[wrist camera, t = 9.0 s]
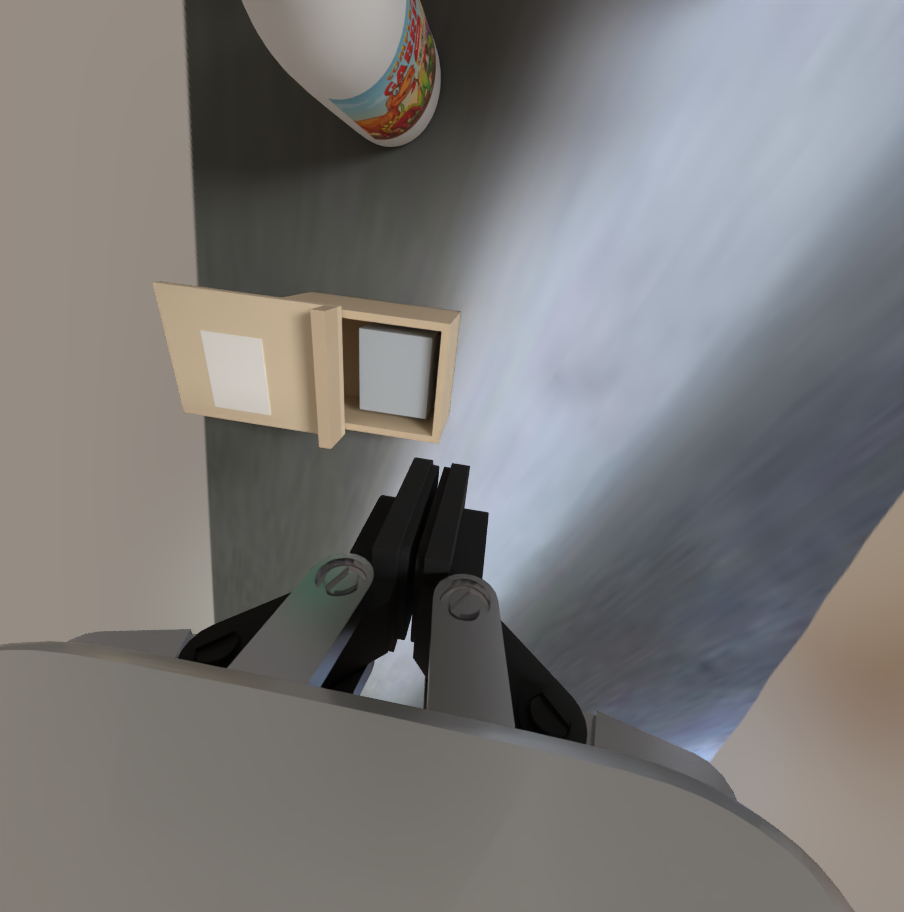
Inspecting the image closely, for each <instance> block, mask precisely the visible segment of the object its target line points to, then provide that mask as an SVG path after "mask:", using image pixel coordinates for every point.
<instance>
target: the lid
mask: <svg viewBox="0 0 904 912" xmlns="http://www.w3.org/2000/svg"><path fill="white" fill-rule="evenodd" d="M153 287H154V291H155V295H156V299H157V304H158V307H159V312H160V316H161V320H162V324H163V328H164V332H165V337H166V340H167V344H168V349H169V353H170V357H171V361H172V365H173V369H174V374H175V378H176V382H177V386H178V390H179V394H180V398H181V402H182V407H183V410H184V413H190V414H196V415H202V416H209V417H215V418H221V419H228V420H234V421H240V422H247V423H253V424H259V425H266V426H272V427H278V428H285V429H291V430H297V431H304V432H310V433H316V434H318V436H319V447H322V448H329V449H331V448H332V447H333V446H334V445H335V444H336V443H337V442H338V441H339V440H340V439H341V438H342V436H343V435H344V434H345V417H344V381H343V346H342V310H341V306H338V305H331V304H324V303H316V302H309V301H301V300H294V299H287V298H279V297H272V296H264V295H257V294H250V293H242V292H235V291H228V290H220V289H213V288H205V287H198V286H191V285H183V284H176V283H168V282H161V281H160V282H153Z"/></svg>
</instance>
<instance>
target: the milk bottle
mask: <svg viewBox="0 0 904 912" xmlns="http://www.w3.org/2000/svg"><path fill="white" fill-rule="evenodd" d="M242 2H243V5H244V7H245V9H246V11H247V13H248V16H249V18H250V20H251V22H252V24H253V26H254V27H255V29H256V31H257V33H258V35H259V36H260V38H261V39H262V41H263V42H264V44H265V45H266V47H267V48H268V50H269V51H270V53H271V54H272V55H273V56H274V58H275V59H276V60H277V61H278V63H279V64H280V65H281V66H282V67H283V69H284V70H285V71H286V72H287V73H288V74H289V75H290V76H291V77H292V78H293V79H294V80H295V81H297V82H298V83H299V84H300V85H301V86H302V87H303V88H304V89H305V90H306V91H307V92H308V93H310V94H311V95H312V96H313V97H314V98H316V99H317V100H318V101H319V102H320V103H322V104H323V105H324V106H325V107H326V108H328V109H329V110H330V111H331V112H333V113H334V114H335V115H336V116H338V117H339V118H340V119H341V120H343V121H344V122H345V123H346V124H348V125H349V126H350V127H351V128H353V129H354V130H355V131H356V132H358V133H359V134H360V135H362V136H363V137H364V138H366V139H367V140H369V141H371V142H373V143H375V144H377V145H380V146H385V147H397V146H401V145H404V144H407V143H409V142H411V141H412V140H414V139H415V138H416V137H418V136H419V135H420V134H421V133H422V132H423V130H424V129H425V128H426V127H427V125H428V124H429V122H430V120H431V119H432V116H433V114H434V112H435V109H436V106H437V103H438V99H439V94H440V86H441V70H440V62H439V56H438V53H437V49H436V45H435V42H434V39H433V36H432V33H431V30H430V27H429V24H428V21H427V19H426V16H425V13H424V10H423V7H422V4H421V2H420V0H242Z"/></svg>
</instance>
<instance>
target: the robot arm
mask: <svg viewBox="0 0 904 912" xmlns="http://www.w3.org/2000/svg"><path fill="white" fill-rule="evenodd" d="M469 470H470V466H467V465H461V464H454V463H452V465H451V468H449V467H444V469H443V472H442V476H441V479H440V482H439V485H438V477H439V466H436V465H433V460H428V459H422V458H414V460H413V462H412V464H411V466H410V468H409V471H408V473H407V475H406V477H405V479H404V481H403V483H402V485H401V488H400V490H399V492H398V494H397V496H396V497H391V496H385V495H382V496H380V498H379V499H378V501H377V503H376V505H375V506H374V508H373V510H372V512H371V514H370V516H369V518H368V519H367V521H366V523H365V525H364V527H363V529H362V531H361V533H360V534H359V536H358V538H357V540H356V542H355V544H354V546H353V547H352V549H351V551H350V553H341V554H335V555H332V556H328V557H327V558H325V559H323V560H321V561H319V562H318V563H317V564H316V565H315V566H314V567H313V568H312V569H311V570H310V571H309V573H308V574H307V575H306V576H305V577H304V578H303V580H302V581H301V582H300V583H299V584H298V585H297V587H296V588H295V589H294V590H293V591H292V592H291V593H289V594H286V595H284V596H281V597H279V598H277V599H274V600H272V601H269V602H267V603H265V604H262V605H260V606H257V607H255V608H253V609H250V610H248V611H245V612H243V613H240V614H238V615H236V616H233V617H231V618H228V619H226V620H224V621H221V622H219V623H216V624H214V625H212V626H210V627H208V628H206V629H204V630H202V631H201V632H199V633H198V634H192V632H191V629H179V630H142V631H104V632H103V631H102V632H94V633H88V634H84V635H81V636H79V637H76V638H74V639H71V640H69V641H68V642H54V641H46V642H25V643H24V642H23V643H10V644H3V645H0V912H855V911H854V910H853V908H852V907H851V905H850V904H849V903H848V901H847V900H846V899H845V897H844V896H843V894H842V893H841V892H840V890H839V889H838V887H837V886H836V885H835V884H834V883H833V881H832V880H831V879H830V878H829V877H828V876H827V874H826V873H825V872H824V871H823V869H822V868H821V867H820V866H819V865H818V864H817V863H816V862H815V861H814V860H813V859H812V858H811V857H810V856H809V855H808V854H807V853H806V852H805V851H804V850H803V849H802V848H801V847H799V846H798V845H797V844H796V843H795V842H793V841H792V840H791V839H790V838H788V837H787V836H786V835H785V834H783V833H782V832H781V831H780V830H778V829H777V828H776V827H774V826H773V825H772V824H770V823H769V822H767V821H766V820H765V819H763V818H762V817H760V816H759V815H757V814H756V813H754V812H753V811H751V810H750V809H748V808H747V807H745V806H744V805H742V804H741V803H739V802H738V801H737V800H736V797H735V795H734V792H733V790H732V789H731V787H730V786H729V784H728V783H727V781H726V780H725V778H724V777H723V776H722V774H720V773H719V772H718V771H717V770H716V769H715V768H714V767H713V766H712V765H711V764H710V763H709V762H708V761H706V760H704V759H703V758H701V757H700V756H698V755H696V754H695V753H692V752H690V751H688V750H686V749H683V748H681V747H679V746H676V745H674V744H672V743H670V742H667V741H665V740H663V739H660V738H658V737H656V736H654V735H651V734H649V733H647V732H644V731H642V730H640V729H638V728H635V727H633V726H631V725H628V724H626V723H624V722H622V721H619V720H617V719H615V718H613V717H610V716H608V715H606V714H603V713H601V712H599V711H596V713H595V715H593V714H591V713H588V712H586V711H584V710H582V709H581V708H580V707H579V705H578V704H577V703H576V701H575V700H574V699H573V697H572V696H571V695H570V694H569V693H568V692H567V691H566V690H565V688H564V687H563V686H562V685H561V684H560V683H559V682H558V681H557V680H556V679H555V678H554V677H553V676H552V675H551V673H550V672H549V671H548V670H547V669H546V668H545V667H544V666H543V665H542V664H541V663H540V662H539V661H538V660H537V658H536V657H535V656H534V655H533V654H532V653H531V652H530V651H529V650H528V649H527V648H526V647H525V646H524V644H523V643H522V642H521V641H520V640H519V639H518V638H517V637H516V636H515V635H514V634H513V633H512V632H511V631H510V629H509V628H508V627H507V626H506V625H505V624H504V623H503V622H502V621H501V618H500V611H499V604H498V599H497V596H496V592H495V591H494V590H493V588H492V587H491V586H490V585H489V584H488V583H487V582H486V581H484V580H483V579H482V576H483V566H484V556H485V546H486V535H487V525H488V514H489V513H488V512H482V511H476V510H470V509H464V507H465V499H466V492H467V485H468V477H469ZM411 617H412V626H411V642H414V652H413V658H414V660H415V661H416V663H417V664H418V666H419V667H420V669H421V670H422V672H423V673H424V675H425V680H424V697H423V709H421V708H417V707H412V706H407V705H402V704H397V703H393V702H388V701H383V700H378V699H373V698H369V697H364V696H360V694H361V692H362V690H363V688H364V686H365V684H366V682H367V680H368V678H369V676H370V674H371V672H372V669H373V666H374V660H376V659H377V658H379V657H381V656H383V655H384V654H386V653H388V651H391V652H394V649H395V646H396V643H397V639H401V640H405V638H406V635H407V631H408V627H409V624H410V620H411Z"/></svg>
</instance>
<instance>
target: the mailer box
mask: <svg viewBox="0 0 904 912" xmlns="http://www.w3.org/2000/svg"><path fill="white" fill-rule="evenodd" d="M282 298H287V299H294V300H301V301H309V302H316V303H324V304H331V305H338V306H341V310H342V346H343V381H344V417H345V429H348V430H354V431H361V432H367V433H374V434H380V435H386V436H393V437H399V438H406V439H412V440H418V441H425V442H431V443H437V444H438V443H439V440H440V438H441V435H442V432H443V430H444V427H445V424H446V422H447V419H448V416H449V412H450V403H451V394H452V385H453V376H454V367H455V359H456V350H457V341H458V332H459V323H460V314H461V312H459V311H451V310H444V309H436V308H429V307H421V306H414V305H406V304H399V303H392V302H384V301H377V300H369V299H362V298H354V297H347V296H339V295H332V294H324V293H317V292H308V293H303V294H298V295H293V296H288V297H282Z"/></svg>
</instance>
